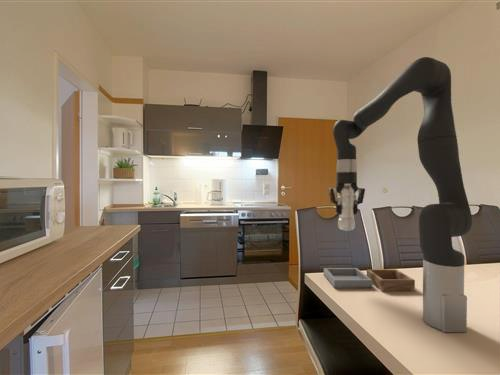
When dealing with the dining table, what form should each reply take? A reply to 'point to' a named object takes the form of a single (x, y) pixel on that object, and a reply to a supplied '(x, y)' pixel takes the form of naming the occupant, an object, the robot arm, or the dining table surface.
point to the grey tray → (347, 278)
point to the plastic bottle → (347, 208)
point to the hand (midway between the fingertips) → (346, 214)
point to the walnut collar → (391, 280)
